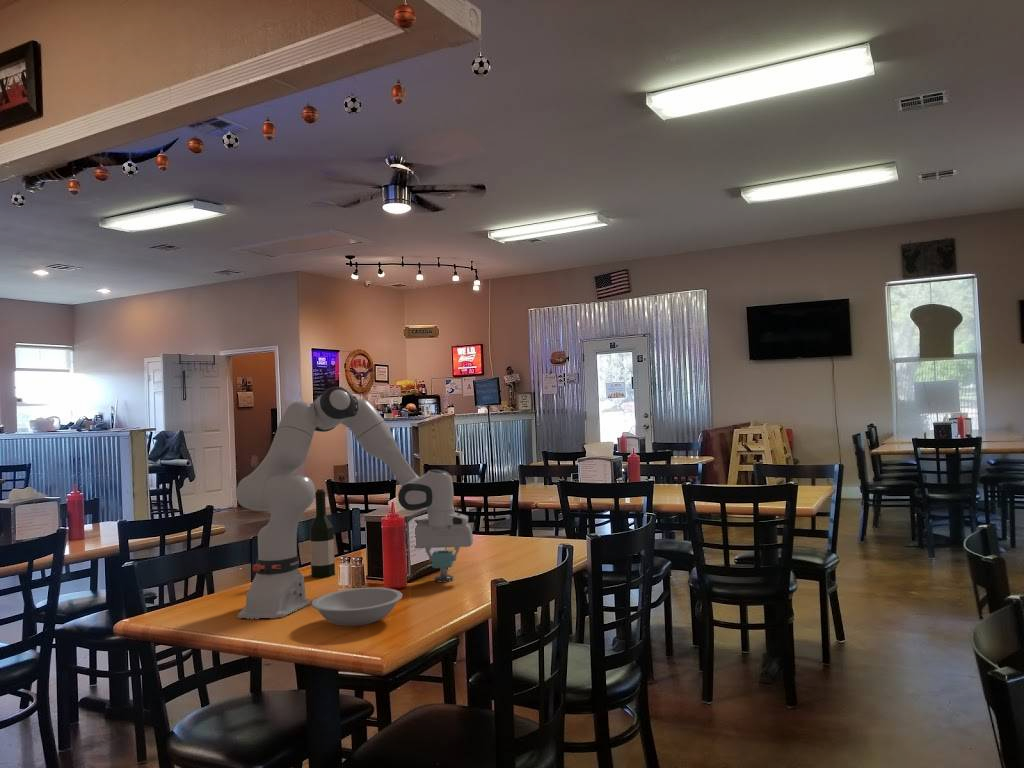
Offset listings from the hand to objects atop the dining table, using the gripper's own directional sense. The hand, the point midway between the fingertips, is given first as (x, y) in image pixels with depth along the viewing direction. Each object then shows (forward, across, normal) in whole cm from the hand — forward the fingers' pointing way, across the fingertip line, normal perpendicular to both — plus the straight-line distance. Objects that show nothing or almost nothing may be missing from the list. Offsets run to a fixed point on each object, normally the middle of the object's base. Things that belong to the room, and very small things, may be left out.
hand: (443, 560), depth 248 cm
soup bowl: (+6, -15, -47) cm, 50 cm away
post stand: (+6, 0, 0) cm, 6 cm away
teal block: (+2, 0, 0) cm, 2 cm away
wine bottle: (+6, -45, +12) cm, 47 cm away
